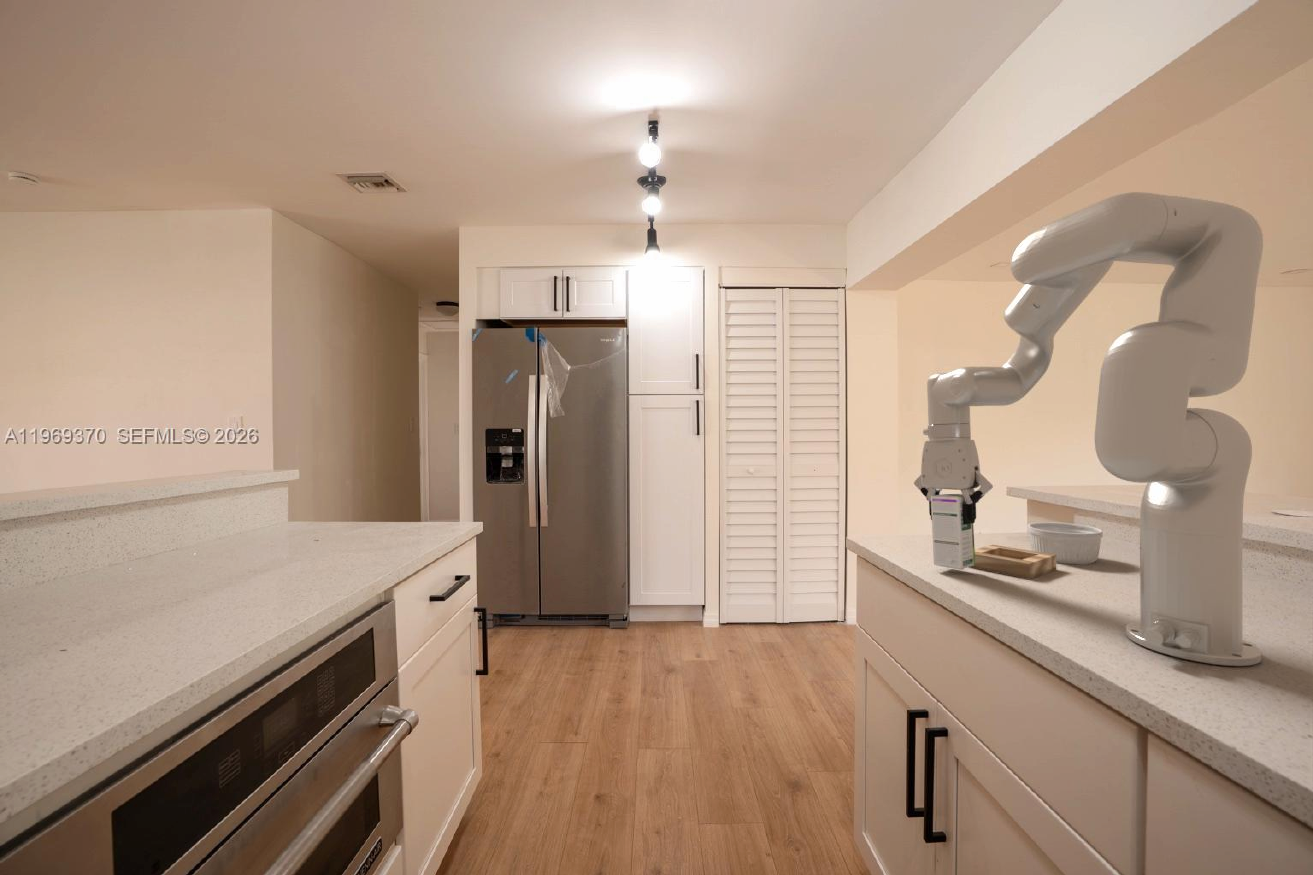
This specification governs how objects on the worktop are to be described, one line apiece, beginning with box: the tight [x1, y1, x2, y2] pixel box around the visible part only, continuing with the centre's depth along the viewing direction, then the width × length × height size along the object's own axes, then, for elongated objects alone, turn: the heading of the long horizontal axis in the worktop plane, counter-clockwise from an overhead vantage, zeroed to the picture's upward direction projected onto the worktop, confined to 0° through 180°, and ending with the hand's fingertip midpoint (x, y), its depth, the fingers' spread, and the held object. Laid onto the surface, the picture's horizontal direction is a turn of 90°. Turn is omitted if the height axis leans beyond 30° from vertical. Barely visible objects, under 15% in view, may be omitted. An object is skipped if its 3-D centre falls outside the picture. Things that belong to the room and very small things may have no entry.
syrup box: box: [931, 493, 975, 571], centre depth 107 cm, size 6×6×14 cm
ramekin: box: [1027, 521, 1104, 565], centre depth 117 cm, size 13×13×7 cm
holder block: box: [969, 544, 1057, 580], centre depth 110 cm, size 12×12×3 cm
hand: (952, 520), depth 107 cm, fingers closed on syrup box, 5 cm apart
